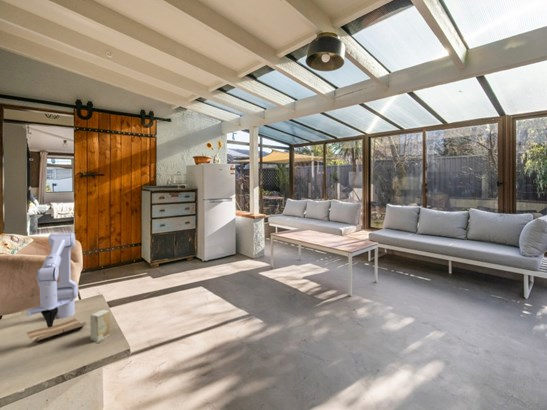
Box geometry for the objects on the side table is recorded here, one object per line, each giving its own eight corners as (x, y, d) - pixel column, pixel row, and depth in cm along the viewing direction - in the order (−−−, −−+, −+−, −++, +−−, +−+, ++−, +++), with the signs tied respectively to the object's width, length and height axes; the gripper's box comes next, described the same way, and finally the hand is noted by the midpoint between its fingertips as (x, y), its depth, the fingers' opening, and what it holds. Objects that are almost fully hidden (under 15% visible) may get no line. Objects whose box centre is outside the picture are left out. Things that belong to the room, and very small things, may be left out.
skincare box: (97, 344, 122) (97, 316, 121) (90, 342, 123) (89, 315, 123) (110, 336, 128) (110, 310, 127) (103, 335, 130) (102, 309, 129)
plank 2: (60, 334, 129) (59, 331, 129) (81, 327, 135) (81, 324, 136) (64, 331, 125) (63, 328, 125) (86, 324, 131) (85, 321, 132)
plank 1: (35, 342, 122) (34, 339, 122) (59, 334, 129) (58, 332, 129) (38, 339, 118) (38, 336, 118) (63, 331, 125) (62, 329, 125)
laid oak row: (26, 334, 128) (26, 332, 128) (74, 320, 143) (74, 318, 142) (32, 342, 122) (31, 340, 122) (81, 326, 136) (81, 324, 136)
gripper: (28, 303, 113) (30, 336, 114) (71, 292, 124) (72, 323, 125) (24, 298, 117) (26, 330, 118) (66, 288, 128) (67, 318, 129)
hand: (49, 326), depth 122 cm, fingers closed
